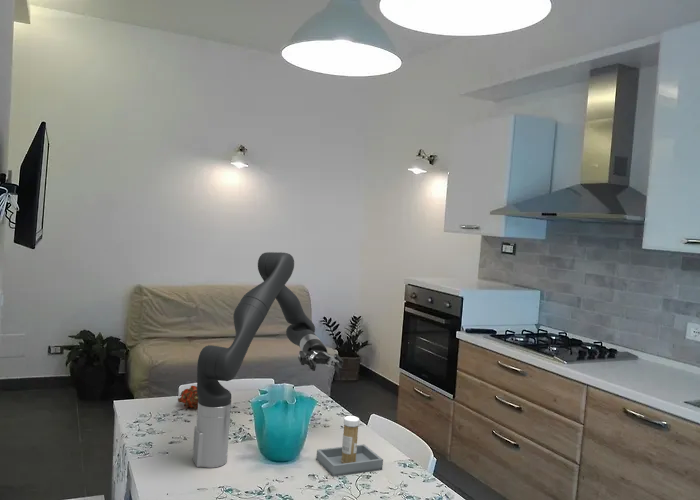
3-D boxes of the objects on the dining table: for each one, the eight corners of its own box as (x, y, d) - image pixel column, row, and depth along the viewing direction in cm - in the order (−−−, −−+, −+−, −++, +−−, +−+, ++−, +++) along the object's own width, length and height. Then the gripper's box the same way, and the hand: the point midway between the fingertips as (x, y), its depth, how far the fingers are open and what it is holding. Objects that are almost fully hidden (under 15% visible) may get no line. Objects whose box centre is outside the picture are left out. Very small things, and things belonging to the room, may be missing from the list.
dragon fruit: (201, 417, 207) (181, 413, 214) (216, 399, 213) (196, 395, 220) (189, 400, 203) (168, 396, 211) (204, 382, 209) (184, 379, 216)
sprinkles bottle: (358, 464, 172) (362, 419, 171) (346, 466, 169) (349, 421, 169) (350, 458, 176) (353, 414, 175) (337, 460, 173) (341, 416, 172)
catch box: (332, 476, 163) (333, 466, 163) (316, 459, 174) (316, 449, 174) (382, 469, 171) (383, 459, 170) (363, 453, 181) (364, 444, 181)
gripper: (295, 336, 196) (308, 356, 181) (334, 340, 201) (350, 360, 187) (290, 357, 197) (303, 378, 183) (329, 360, 203) (344, 381, 188)
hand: (327, 369), depth 185 cm, fingers open, 8 cm apart
